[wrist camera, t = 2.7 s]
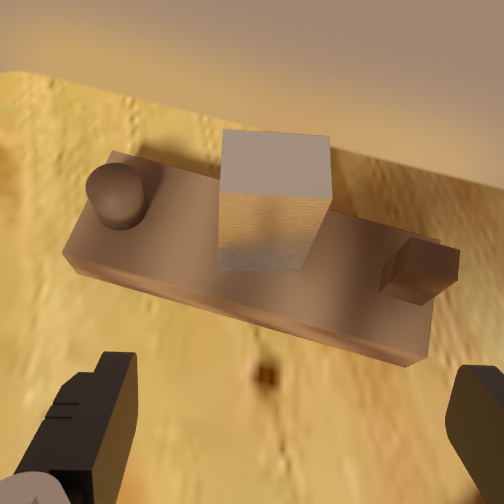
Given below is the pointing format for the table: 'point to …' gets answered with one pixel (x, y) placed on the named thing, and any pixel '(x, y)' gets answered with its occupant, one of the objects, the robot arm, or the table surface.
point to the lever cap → (271, 199)
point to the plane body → (254, 282)
